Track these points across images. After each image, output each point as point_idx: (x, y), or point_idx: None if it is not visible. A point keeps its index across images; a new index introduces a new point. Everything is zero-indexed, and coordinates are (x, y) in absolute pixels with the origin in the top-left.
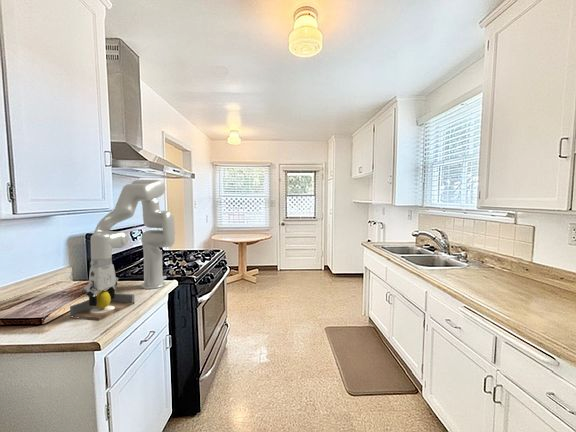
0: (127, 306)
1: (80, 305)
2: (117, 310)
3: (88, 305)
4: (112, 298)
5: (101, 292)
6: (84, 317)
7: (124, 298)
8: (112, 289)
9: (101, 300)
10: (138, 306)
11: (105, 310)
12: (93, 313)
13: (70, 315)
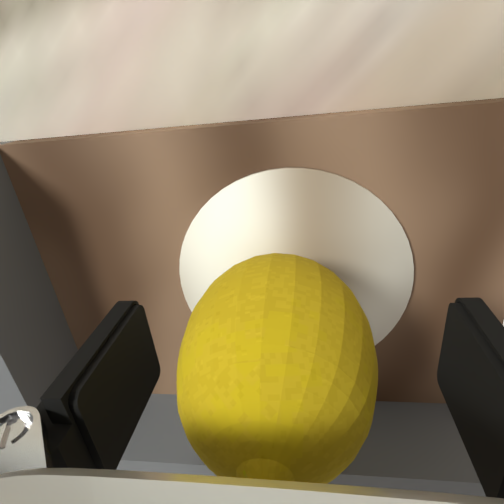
0: (83, 135)
1: (416, 463)
2: (240, 122)
3: None
4: (141, 317)
5: (312, 469)
6: (502, 296)
7: (7, 264)
8: (65, 427)
9: (365, 328)
10: (2, 6)
11: (321, 224)
12: (415, 282)
13: None
